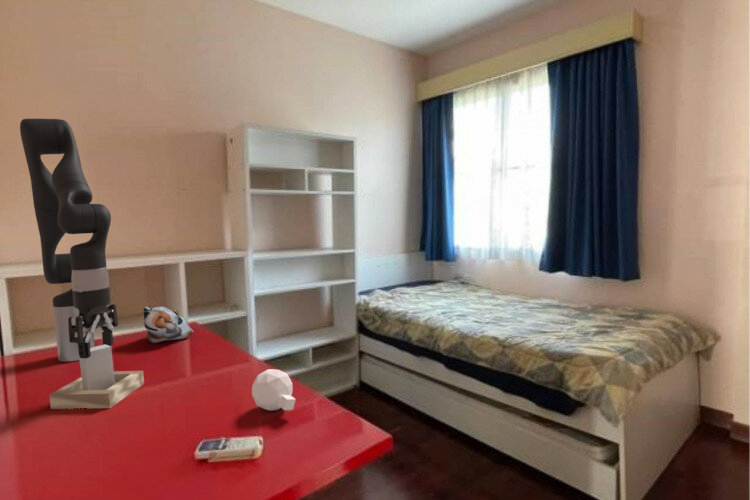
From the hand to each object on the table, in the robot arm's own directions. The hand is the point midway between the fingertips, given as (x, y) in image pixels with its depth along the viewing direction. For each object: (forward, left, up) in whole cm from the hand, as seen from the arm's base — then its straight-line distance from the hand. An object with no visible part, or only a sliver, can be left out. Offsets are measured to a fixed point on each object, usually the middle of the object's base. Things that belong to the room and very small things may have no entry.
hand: (97, 351), depth 105 cm
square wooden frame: (0, 0, -11) cm, 11 cm away
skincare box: (0, 0, -11) cm, 11 cm away
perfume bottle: (+10, +46, -11) cm, 48 cm away
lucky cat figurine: (-47, -7, -11) cm, 49 cm away
